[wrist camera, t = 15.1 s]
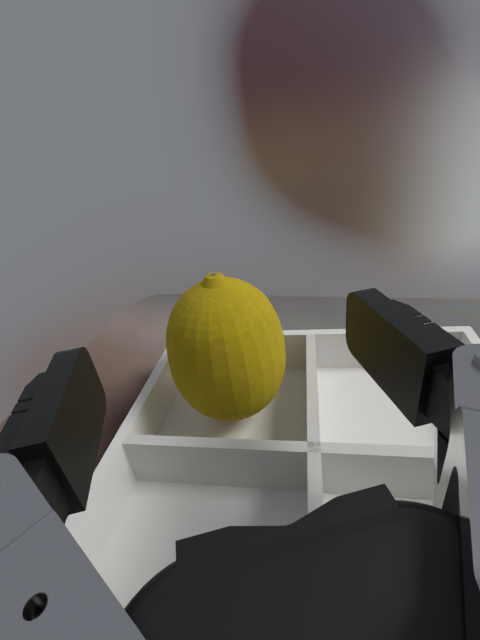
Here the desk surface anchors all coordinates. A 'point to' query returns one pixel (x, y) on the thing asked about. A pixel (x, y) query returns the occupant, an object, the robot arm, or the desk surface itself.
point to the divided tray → (248, 460)
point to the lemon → (225, 348)
